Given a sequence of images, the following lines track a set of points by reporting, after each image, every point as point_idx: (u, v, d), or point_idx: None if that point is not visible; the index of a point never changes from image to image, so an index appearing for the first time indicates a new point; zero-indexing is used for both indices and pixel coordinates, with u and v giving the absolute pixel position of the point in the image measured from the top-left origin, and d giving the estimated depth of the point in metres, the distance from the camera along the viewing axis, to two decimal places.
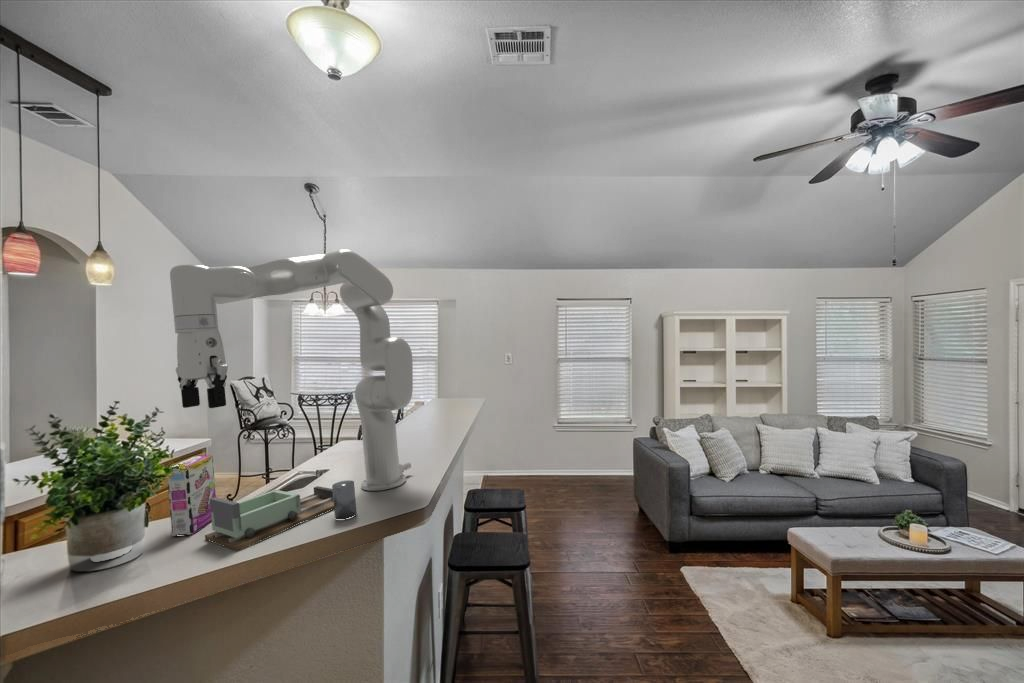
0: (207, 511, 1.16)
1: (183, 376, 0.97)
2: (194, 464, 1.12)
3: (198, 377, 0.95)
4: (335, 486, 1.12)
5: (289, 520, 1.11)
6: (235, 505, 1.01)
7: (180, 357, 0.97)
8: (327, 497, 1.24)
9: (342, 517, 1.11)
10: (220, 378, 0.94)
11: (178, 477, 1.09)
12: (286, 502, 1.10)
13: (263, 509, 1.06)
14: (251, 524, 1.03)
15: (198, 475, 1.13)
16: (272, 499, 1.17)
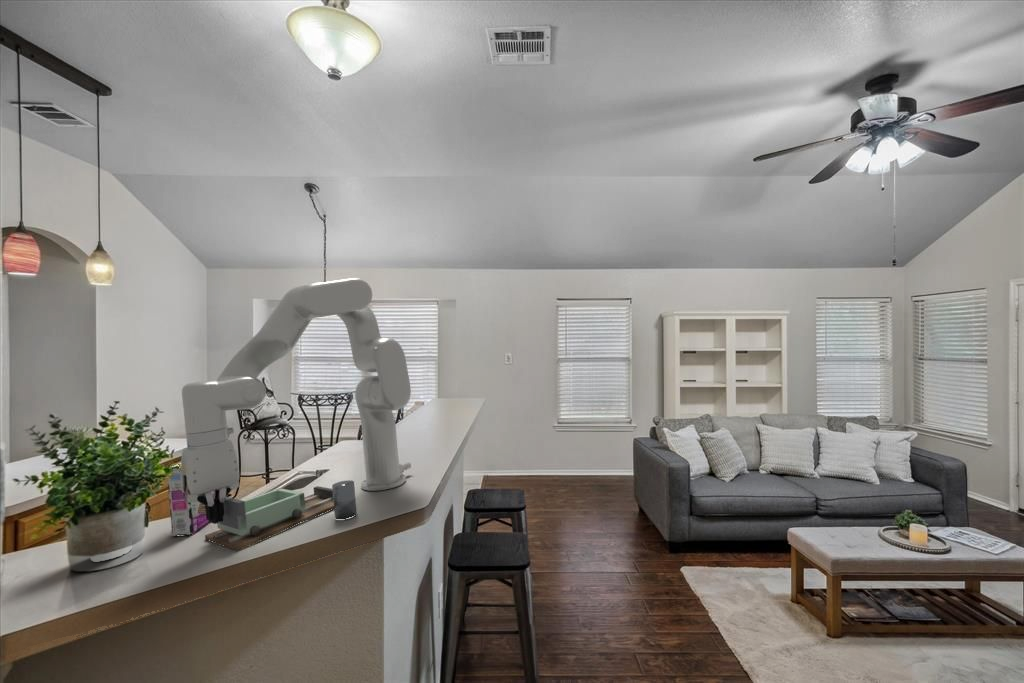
0: None
1: (203, 490, 0.98)
2: None
3: (230, 483, 1.03)
4: (335, 486, 1.12)
5: (289, 520, 1.11)
6: (240, 503, 1.02)
7: (202, 472, 0.98)
8: (327, 497, 1.24)
9: (342, 517, 1.11)
10: None
11: (178, 477, 1.09)
12: (291, 501, 1.11)
13: (268, 507, 1.07)
14: (256, 522, 1.04)
15: None
16: (276, 497, 1.18)
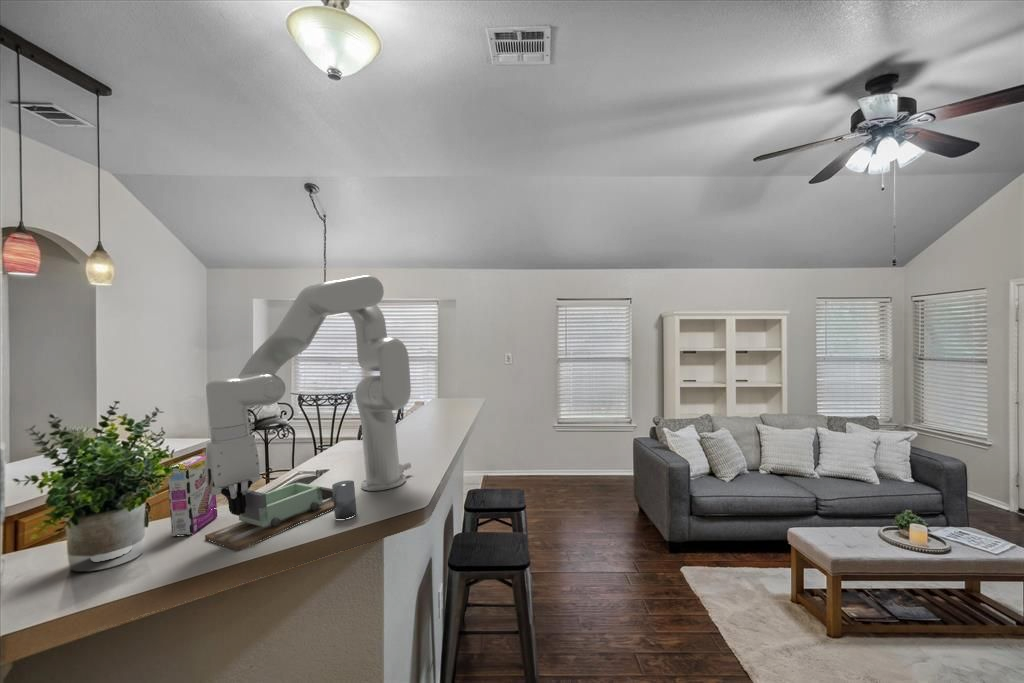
0: (207, 511, 1.16)
1: (226, 483, 1.02)
2: (194, 464, 1.12)
3: (251, 477, 1.07)
4: (335, 486, 1.12)
5: (289, 520, 1.11)
6: (262, 496, 1.06)
7: (226, 465, 1.02)
8: (327, 497, 1.24)
9: (342, 517, 1.11)
10: None
11: (178, 477, 1.09)
12: (308, 494, 1.15)
13: (287, 500, 1.11)
14: (276, 514, 1.08)
15: (198, 475, 1.13)
16: (294, 491, 1.22)
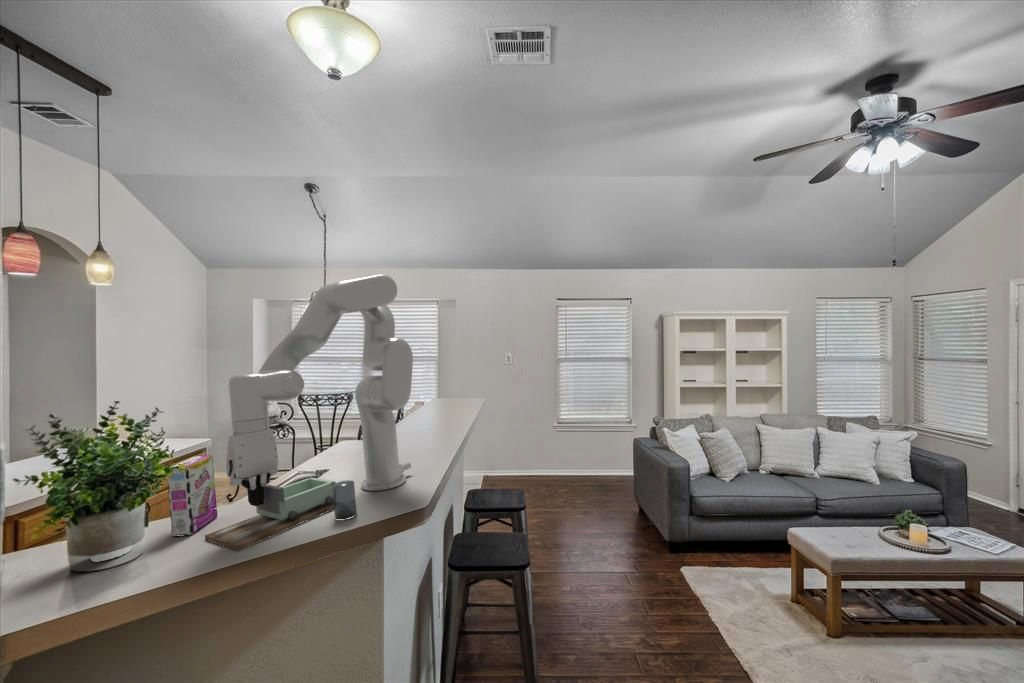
0: (207, 511, 1.16)
1: (247, 475, 1.06)
2: (194, 464, 1.12)
3: (270, 469, 1.11)
4: (335, 486, 1.12)
5: (289, 520, 1.11)
6: (280, 489, 1.09)
7: (246, 457, 1.06)
8: None
9: (342, 517, 1.11)
10: None
11: (178, 477, 1.09)
12: (323, 488, 1.19)
13: (304, 494, 1.14)
14: (293, 507, 1.12)
15: (198, 475, 1.13)
16: (308, 486, 1.25)
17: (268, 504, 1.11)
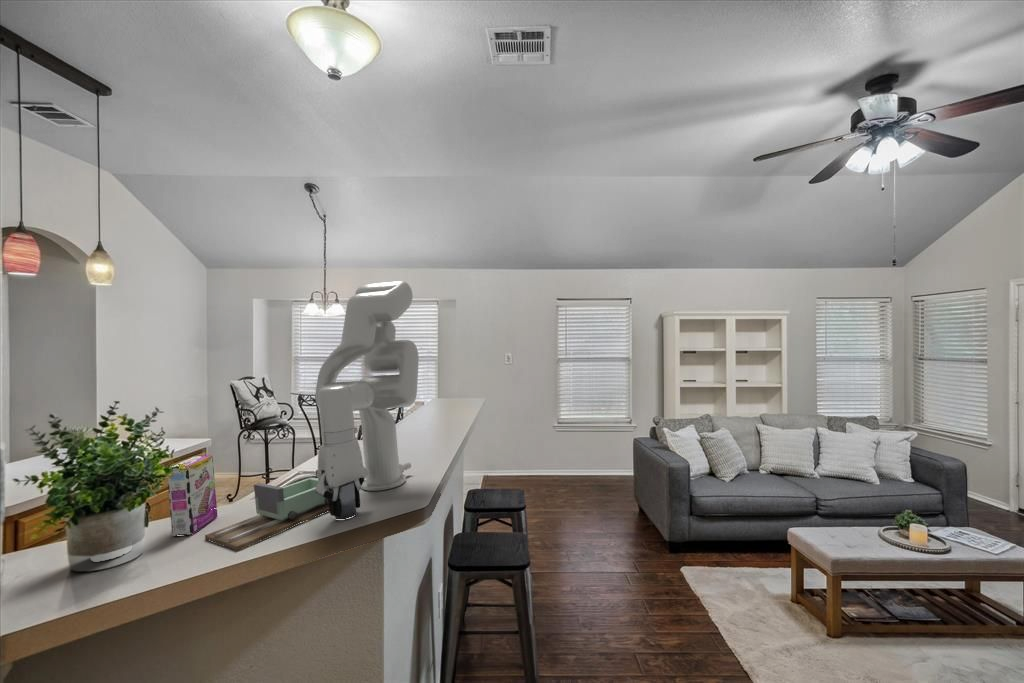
0: (207, 511, 1.16)
1: (338, 484, 1.10)
2: (194, 464, 1.12)
3: (357, 478, 1.14)
4: None
5: (289, 520, 1.11)
6: (279, 489, 1.09)
7: (338, 467, 1.10)
8: None
9: (342, 517, 1.11)
10: None
11: (178, 477, 1.09)
12: None
13: (303, 494, 1.14)
14: (293, 507, 1.12)
15: (198, 475, 1.13)
16: (308, 486, 1.25)
17: (268, 504, 1.11)
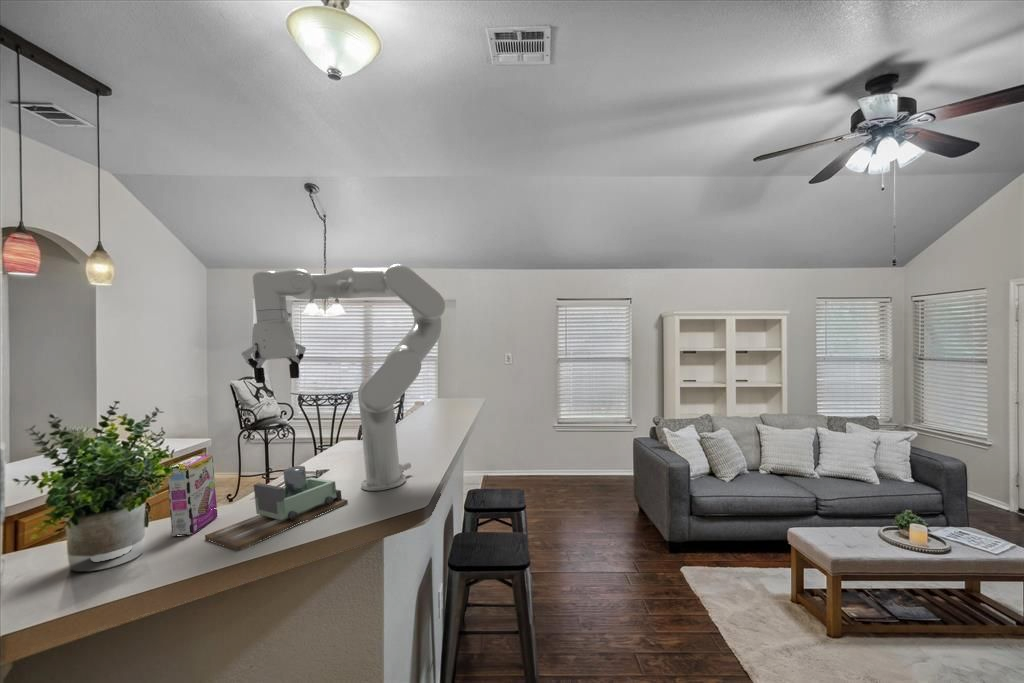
0: (207, 511, 1.16)
1: (270, 356, 1.23)
2: (194, 464, 1.12)
3: (289, 355, 1.28)
4: (286, 471, 1.16)
5: (289, 520, 1.11)
6: (279, 490, 1.09)
7: (269, 341, 1.23)
8: None
9: None
10: None
11: (178, 477, 1.09)
12: (323, 488, 1.19)
13: (303, 494, 1.14)
14: (293, 507, 1.12)
15: (198, 475, 1.13)
16: (308, 486, 1.25)
17: (268, 504, 1.11)
